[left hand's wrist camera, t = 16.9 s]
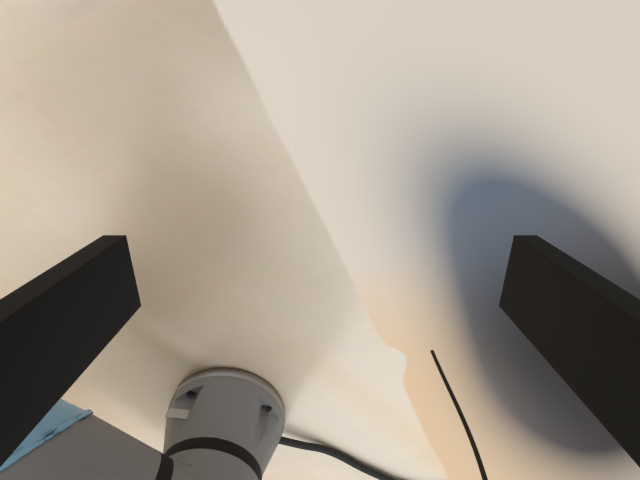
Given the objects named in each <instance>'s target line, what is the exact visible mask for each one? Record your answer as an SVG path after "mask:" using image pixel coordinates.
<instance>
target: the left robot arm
mask: <svg viewBox="0 0 640 480" xmlns="http://www.w3.org/2000/svg"><path fill="white" fill-rule="evenodd" d="M140 306H141V303H140V299H139V294H138V289H137V285H136V280H135V275H134V271H133V266H132V261H131V257H130V252H129V248H128V243H127V238H126V235H103V236H102V237H100V238H98V239H97V240H95V241H94V242H92V243H90V244H89V245H87V246H86V247H84V248H82V249H81V250H79V251H78V252H76V253H74V254H73V255H71V256H70V257H68V258H66V259H65V260H63V261H61V262H60V263H58V264H57V265H55V266H53V267H52V268H50V269H49V270H47V271H45V272H44V273H42V274H41V275H39V276H37V277H36V278H34V279H33V280H31V281H29V282H28V283H26V284H25V285H23V286H21V287H20V288H18V289H17V290H15V291H13V292H12V293H10V294H9V295H7V296H5V297H4V298H2V299H0V480H262V475H263V473H264V471H265V469H266V467H267V465H268V463H269V461H270V459H271V457H272V455H273V453H274V451H275V449H276V447H277V445H278V444H282V445H287V446H291V447H295V448H300V449H305V450H311V451H317V452H321V453H325V454H327V455H330V456H333V457H335V458H337V459H339V460H341V461H343V462H345V463H347V464H349V465H350V466H352V467H354V468H356V469H358V470H360V471H362V472H364V473H366V474H368V475H371V476H373V477H375V478H377V479H379V480H396V479H394V478H391V477H389V476H387V475H385V474H382V473H380V472H378V471H376V470H374V469H372V468H370V467H367V466H365V465H363V464H361V463H359V462H357V461H356V460H354V459H352V458H350V457H348V456H347V455H345V454H343V453H341V452H339V451H336V450H334V449H332V448H329V447H326V446H323V445H319V444H314V443H308V442H303V441H298V440H294V439H290V438H285V437H281V435H282V432H283V428H284V420H285V410H284V405H283V402H282V400H281V398H280V396H279V395H278V393H277V392H276V391H275V389H274V388H273V387H272V386H271V385H269V384H268V383H267V382H266V381H264V380H263V379H261V378H260V377H258V376H256V375H254V374H251V373H249V372H245V371H242V370H237V369H230V368H216V369H209V370H205V371H202V372H199V373H196V374H194V375H192V376H191V377H189V378H188V379H186V380H185V381H184V382H183V383H182V384H181V385H180V386H179V387H178V389H177V390H176V392H175V394H174V396H173V398H172V400H171V402H170V405H169V408H168V411H167V413H166V415H165V417H167V418H166V429H165V439H164V450H163V453H161V452H159V451H157V450H156V449H154V448H152V447H150V446H148V445H146V444H145V443H143V442H141V441H139V440H137V439H136V438H134V437H132V436H130V435H129V434H127V433H125V432H123V431H121V430H120V429H118V428H116V427H114V426H112V425H111V424H109V423H107V422H105V421H103V420H102V419H100V418H98V417H96V416H94V415H93V411H91V410H83V409H81V408H79V407H77V406H75V405H73V404H71V403H69V402H66V401H64V400H62V399H60V398H61V397H62V396H63V395H64V394H65V392H66V391H67V390H68V389H69V388H70V387H71V386H72V384H73V383H74V382H75V381H76V380H77V379H78V378H79V376H80V375H81V374H82V373H83V372H84V371H85V369H86V368H87V367H88V366H89V365H90V364H91V363H92V361H93V360H94V359H95V358H96V357H97V356H98V355H99V353H100V352H101V351H102V350H103V349H104V348H105V347H106V345H107V344H108V343H109V342H110V341H111V340H112V339H113V337H114V336H115V335H116V334H117V333H118V332H119V330H120V329H121V328H122V327H123V326H124V325H125V324H126V322H127V321H128V320H129V319H130V318H131V317H132V316H133V314H134V313H135V312H136V311H137V310H138V309H139V308H140ZM499 306H500V308H501V309H502V310H503V311H504V312H505V313H506V314H507V316H508V317H509V318H510V319H511V320H512V321H513V322H514V324H515V325H516V326H517V327H518V328H519V329H520V330H521V332H522V333H523V334H524V335H525V336H526V337H527V339H528V340H529V341H530V342H531V343H532V344H533V345H534V347H535V348H536V349H537V350H538V351H539V352H540V353H541V355H542V356H543V357H544V358H545V359H546V360H547V361H548V363H549V364H550V365H551V366H552V367H553V368H554V369H555V371H556V372H557V373H558V374H559V375H560V376H561V377H562V379H563V380H564V381H565V382H566V383H567V384H568V386H569V387H570V388H571V389H572V390H573V391H574V392H575V394H576V395H577V396H578V397H579V398H580V399H581V400H582V402H583V403H584V404H585V405H586V406H587V407H588V408H589V410H590V411H591V412H592V413H593V414H594V415H595V416H596V418H597V419H598V420H599V421H600V422H601V423H602V425H603V426H604V427H605V428H606V429H607V430H608V431H609V433H610V434H611V435H612V436H613V437H614V438H615V439H616V441H617V442H618V443H619V444H620V445H621V446H622V448H623V449H624V450H625V451H626V452H627V453H628V454H629V456H630V457H631V458H632V459H633V460H634V461H635V462H636V464H637V465H638V466H639V467H640V300H639V299H638V298H636V297H635V296H633V295H631V294H630V293H628V292H627V291H625V290H623V289H622V288H620V287H619V286H617V285H615V284H614V283H612V282H611V281H609V280H607V279H606V278H604V277H603V276H601V275H599V274H598V273H596V272H594V271H593V270H591V269H590V268H588V267H586V266H585V265H583V264H582V263H580V262H578V261H577V260H575V259H574V258H572V257H570V256H569V255H567V254H566V253H564V252H562V251H561V250H559V249H558V248H556V247H554V246H553V245H551V244H550V243H548V242H546V241H545V240H543V239H542V238H540V237H538V236H536V235H515V236H514V238H513V243H512V247H511V252H510V257H509V262H508V266H507V271H506V275H505V280H504V285H503V289H502V294H501V299H500V303H499ZM431 354H432V357H433V359H434V361H435V364H436V366H437V368H438V370H439V373H440V375H441V377H442V379H443V381H444V384H445V386H446V388H447V390H448V392H449V394H450V397H451V399H452V401H453V403H454V405H455V408H456V410H457V412H458V414H459V416H460V419H461V421H462V424H463V426H464V428H465V431H466V433H467V436H468V438H469V441H470V444H471V446H472V449H473V452H474V455H475V458H476V460H477V464H478V467H479V470H480V473H481V477H482V480H488V478H487V475H486V472H485V469H484V466H483V463H482V460H481V457H480V454H479V451H478V449H477V446H476V443H475V441H474V438H473V436H472V433H471V431H470V429H469V426H468V424H467V422H466V419H465V417H464V415H463V413H462V410H461V408H460V406H459V404H458V402H457V400H456V398H455V395H454V393H453V391H452V389H451V387H450V385H449V383H448V381H447V379H446V377H445V374H444V372H443V370H442V368H441V366H440V364H439V361H438V359H437V357H436V355H435V352H434V350H431Z"/></svg>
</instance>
